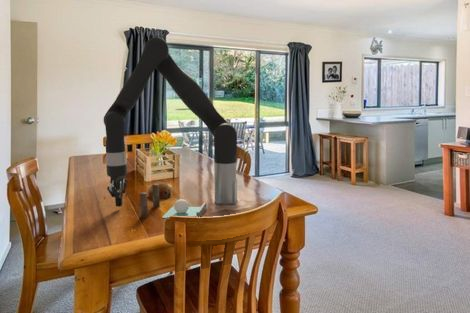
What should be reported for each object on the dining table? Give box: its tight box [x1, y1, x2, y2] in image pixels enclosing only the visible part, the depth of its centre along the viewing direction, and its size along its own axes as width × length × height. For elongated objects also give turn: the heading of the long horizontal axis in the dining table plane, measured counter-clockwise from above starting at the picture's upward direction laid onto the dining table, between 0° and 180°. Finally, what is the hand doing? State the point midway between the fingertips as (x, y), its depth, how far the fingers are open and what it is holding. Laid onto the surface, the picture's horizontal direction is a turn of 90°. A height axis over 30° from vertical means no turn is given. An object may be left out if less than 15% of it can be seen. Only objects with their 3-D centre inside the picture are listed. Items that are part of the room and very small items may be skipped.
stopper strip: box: [196, 202, 207, 217], centre depth 136 cm, size 1×12×2 cm, turn 172°
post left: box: [139, 191, 149, 219], centre depth 132 cm, size 3×3×9 cm
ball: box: [173, 198, 190, 214], centre depth 136 cm, size 6×6×6 cm
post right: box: [151, 183, 161, 208], centre depth 144 cm, size 3×3×9 cm
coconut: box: [147, 181, 172, 200], centre depth 160 cm, size 10×10×8 cm
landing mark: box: [161, 205, 208, 219], centre depth 137 cm, size 14×14×1 cm
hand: (119, 205), depth 140 cm, fingers closed
